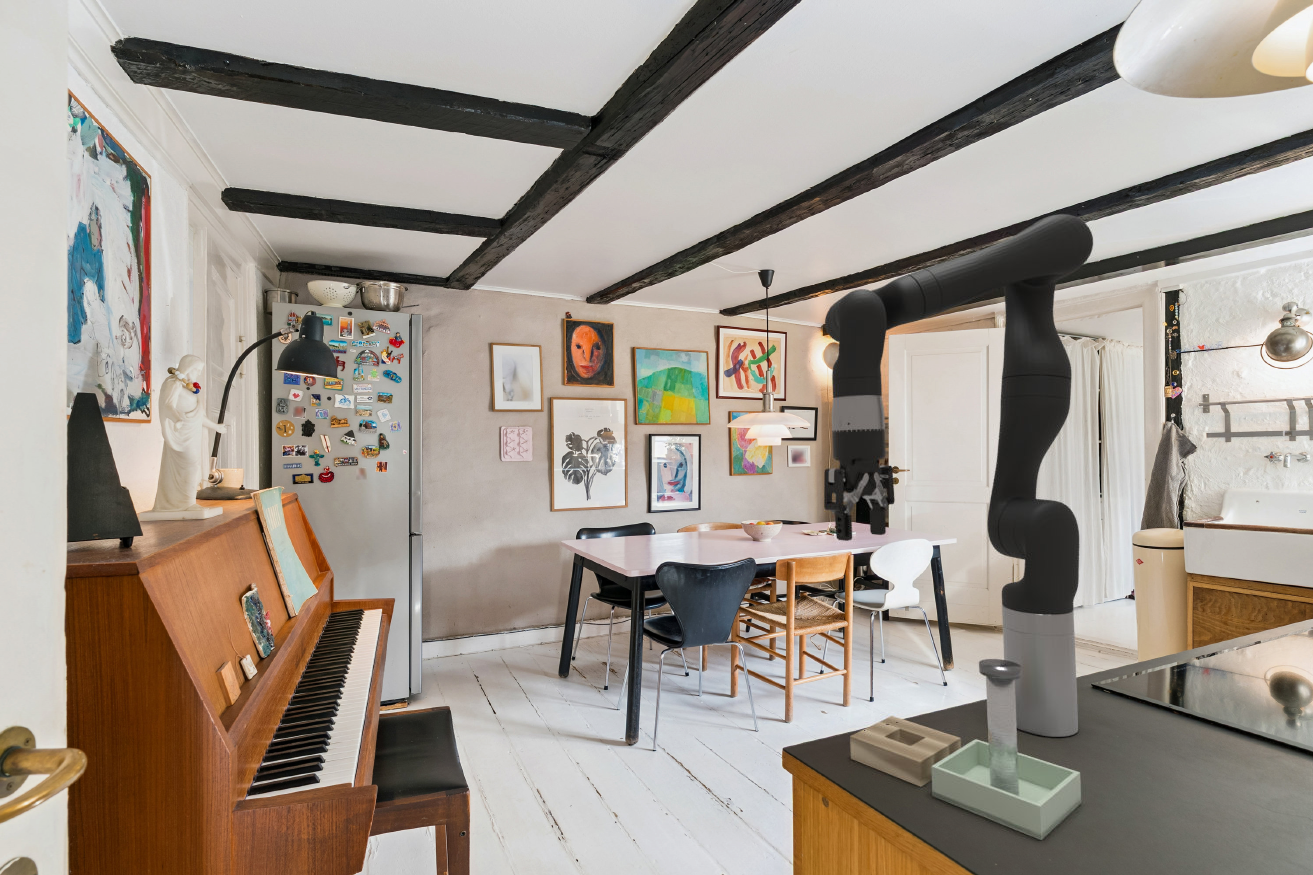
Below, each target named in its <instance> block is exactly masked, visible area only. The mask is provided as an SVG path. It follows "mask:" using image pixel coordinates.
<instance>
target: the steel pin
mask: <svg viewBox="0 0 1313 875" xmlns="http://www.w3.org/2000/svg"><path fill="white" fill-rule="evenodd" d="M978 671H979V673H980V675H982V676H984V677H985V686H986V687H985V690H986V711H987V712H986V713H987V715H986V716H987V735H988V736H987V738H988V739H987V740H988V741H987V743H989V769H990V786H992V787H995V788H998V789H1000V790H1003V791H1006V792H1008V793H1011V794H1014V795H1017V796H1019V776H1018V753H1019V751H1018V731H1017V729H1018V728H1017V726H1016V700H1015V679H1019V678H1021V666H1020V665H1019V664H1017V663H1014V662H1011V661H1007V660H1004V659H1000V658H999V659H998V658H986V659H982V660H979V661H978Z"/></svg>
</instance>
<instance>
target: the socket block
mask: <svg viewBox="0 0 1313 875" xmlns="http://www.w3.org/2000/svg"><path fill="white" fill-rule="evenodd" d="M896 722H898V723H896ZM886 724H889V725H886ZM864 730H865V731H864ZM849 736H850V737H849V739H850V740H849V741H850V742H849V743H850V759H851V760H853V761H855V762H858V763H861V764H862V765H866V766H868V767H870V768H872V769H876V770H878V771H880V772H883V773H886V774H888V775H891V776H893V777H896V778H898V779H901V780H903V781H905V782H908V783H911V784H913V785H915V786H917V787H920V788H921V787H923V786H924V785H926V784H928V783H930V782H932V769H931V766H933V765H934V764H936V763H938V762H939V761H941V760H943V759H944V758H946V757H947V756H949V755H951V754H952V753H954V752H956V751H957V750H959V749H960V748H962V742H961V741H962V738H961V737H958V736H956V735H952V734H949V733H946V732H943V731H940V730H937V729H934V728H931V727H927V726H925V725H921V724H918V723H916V722H912V721H910V720H906V719H903V718H900V717H896V716H893V715H891V716H888V717H887V718H885V719H882V720H881V721H878V722H876V723H874V724H872V725H870V726H868V727H866V728H864V729H861V730H860V731H858V732H856V733H854V734H852V735H849Z"/></svg>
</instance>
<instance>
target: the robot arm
mask: <svg viewBox="0 0 1313 875" xmlns="http://www.w3.org/2000/svg"><path fill="white" fill-rule="evenodd" d="M1093 249H1094V237H1093V234H1092V231H1091V229H1090V227H1089V226H1088V225H1087V223H1086V222H1085V221H1084V220H1082V219H1081V218H1079V217H1077V216H1074V215H1071V214H1064V213H1063V214H1062V213H1061V214H1053V215H1049V216H1047V217H1044V218H1042V219H1040V220H1038V221H1036V222H1034V223H1033V224H1032V225H1030V226H1028V227H1027V228H1026V227H1025V229H1023V230H1021V231H1020V232H1018V233H1017V234H1016V235H1014V236H1011V237H1009V238H1008V239H1005V240H1003V241H1001V242H998V243H996V244H993V245H991V246H988V247H986V248H983V249H980V250H977V251H974V252H972V253H969V254H965V255H963V256H960V257H958V258H957V257H956V258H954V259H951V260H947V261H944V262H941V263H938V264H936V265H932V266H929V267H926V268H923V269H920V270H917V271H914V272H911V273H908V274H905V275H903V276H900V277H897V278H895V279H893V280H892V281H890V282H888V283H887V284H885V285H884V286H880V287H878V288H876V289H872V290H869V289H864V288H863V289H862V288H861V289H859V288H858V289H854V290H852V291H850V292H848V293H847V294H845V295H844V296H842V297H841V298H840V299H839V300H837V301H836V302H835V303H833V304H832V305H831V306H830V307H829V309H828V311H827V312H826V314H825V319H824V327H825V329H826V332H827V334H828V336H829V337H830V338H831V339H832V340H834V341H835V342H837V343H838V354H837V355H838V356H837V358H836V360H835V362H834V364H833V366H832V373H831V376H832V378H831V379H832V381H831V382H832V385H831V386H832V407H831V408H832V409H831V432H832V434H831V435H832V436H831V437H832V438H831V440H832V458H833V459H834V460H835V461H838V462H839V465H838V468H825V469H824V471H823V472H824V476H823V478H824V486H823V488H824V489H823V490H824V491H823V493H824V495H823V496H824V497H823V499H824V500H823V505H824V506H823V507H824V510H826V511H829V512H830V511H831V512H832V513H833V514H834V518H835V519H834V520H835V521H834V524H835V536H836V539H837V540H838V541H846V542H849V541H851V540H852V539H853V521H852V519H853V518H852V516H853V515H852V514H851V513H852V510H853V508H854V507H855V504H856V503H857V502H859V501H860V499H861V498H863V499H865V500H866V502H867V503H868V505H869V508H870V509H869V527H870V528H869V531H870V533H871V534H872V535H877V536H882V535H884V536H885V534H886V532H887V530H886V529H887V528H886V527H887V524H886V510H887V509H888V508H889V506H890V505H894V504H895V502H896V500H895V487H894V486H895V485H894V472H893V471H894V470H893V466H892V465H885V464H884V465H880V463H879V460H884V459H885V458H886V455H887V450H886V448H887V447H886V427H885V426H886V423H885V422H886V421H885V409H884V408H885V407H884V403H883V402H884V401H883V396H882V395H883V390H882V389H883V388H882V385H883V384H882V371H881V368H882V366H881V365H882V359H883V356H884V348H885V342H886V336H887V335H886V334H887V331H889V330H891V329H894V328H895V327H898V326H899V327H900V326H902V325H903V326H904V325H906V324H910V323H914V322H919V321H921V320H923V319H927V318H929V317H932V316H935V315H938V314H942V313H943V312H946V311H948V310H951V309H954V308H956V307H959V306H961V305H963V304H965V303H967V302H970V301H973V300H974V299H976V298H979V297H981V296H983V295H985V294H988V293H990V292H992V291H996V290H998V289H1000V288H1003V289H1004V290H1003V291H1004V305H1005V306H1004V307H1005V326H1004V340H1003V343H1004V345H1003V364H1002V373H1001V374H1002V375H1001V388H1000V389H1001V390H1000V410H999V411H1000V414H999V415H1000V418H999V419H1000V420H999V429H998V430H999V431H998V432H999V433H998V444H997V454H996V465H995V471H994V477H993V483H992V488H991V495H990V498H989V499H990V500H989V506H988V513H987V521H986V522H987V535H988V538H989V541H990V543H991V544H990V545H991V546H992V547H993V548H994V550H995V551H996V552H998V553H999V554H1001V555H1002V556H1006V557H1009V558H1014V559H1018V560H1024V570H1023V576H1022V578H1021V579H1020V580H1018V581H1014V582H1009V583H1006V584H1005V585H1004V586H1003V587H1002V589H1001V612H1002V614H1001V615H1002V616H1001V617H1002V634H1003V639H1002V640H1003V643H1002V644H1003V660H1007V661H1011V662H1014V663H1017V664H1019V665H1020V666H1021V678H1019V679H1015V700H1016V726H1017V729H1018V730H1020V731H1024V732H1026V733H1029V734H1033V735H1039V736H1043V737H1044V736H1045V737H1053V738H1054V737H1055V738H1056V737H1059V738H1060V737H1069V736H1073V735H1075V734H1076V733H1078V732H1079V718H1078V714H1079V713H1078V691H1077V690H1078V688H1077V686H1078V685H1077V666H1076V665H1077V663H1076V662H1077V660H1076V639H1075V637H1076V635H1075V613H1074V600H1075V598H1076V595H1077V592H1078V588H1079V582H1080V580H1079V578H1080V573H1079V572H1080V571H1079V570H1080V530H1079V524H1078V520H1077V518H1076V516H1075V514H1074V512H1073V510H1072V509H1071V508H1070V507H1069V506H1068V505H1067V504H1065V503H1064V502H1061V501H1057V500H1052V499H1041V498H1037V488H1038V487H1037V485H1038V476H1039V472H1040V469H1041V465H1042V462H1043V459H1044V458H1045V456H1046V454H1047V452H1048V450H1049V449H1050V448H1051V447H1052V444H1053V443H1054V441H1055V440H1056V438H1057V436H1058V435H1059V434H1060V431H1061V430H1062V428H1063V426H1064V425H1065V422H1066V421H1067V418H1068V416H1069V412H1070V408H1071V399H1072V398H1071V395H1072V394H1071V393H1072V364H1071V361H1070V358H1069V355H1068V352H1067V350H1066V348H1065V346H1064V343H1063V341H1062V339H1061V337H1060V335H1059V333H1058V330H1057V328H1056V324H1055V318H1054V304H1055V303H1054V302H1055V301H1054V300H1055V292H1056V291H1055V290H1056V286H1057V282H1058V280H1060V279H1062V278H1063V279H1064V278H1065V277H1067V276H1069V275H1071V274H1073V273H1074V272H1076V271H1077V270H1079V269H1080V268H1081V267H1083V265H1084V264H1085V263H1086V262H1087V261H1088V260H1089V258H1090V256H1091V254H1092V251H1093ZM833 494H834V497H835V500H834V501H833ZM885 494H886V496H885Z"/></svg>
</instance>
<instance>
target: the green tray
mask: <svg viewBox="0 0 1313 875" xmlns="http://www.w3.org/2000/svg"><path fill="white" fill-rule="evenodd" d="M931 769H932V780H931V791H932V792H931V793H932V794H931V795H932V797H934V798H936V799H939V800H941V801H944V802H945V803H948V804H951V805H953V806H956V807H958V808H961V809H963V810H966V811H968V812H971V813H973V814H975V815H977V816H981V817H983V818H986V819H987V820H989V821H993V822H995V823H997V824H1000V825H1002V826H1004V827H1008V828H1010V829H1013V830H1015V831H1018V832H1020V833H1022V834H1025V835H1027V836H1030V837H1032V838H1035V839H1037V840H1039V841H1042V840H1043V839H1045V838H1046V837H1047V836H1048V835H1049V834H1050V833H1051V832H1052V831H1054V829H1055V828H1057V827H1058V826H1059V825H1060V824H1061V823H1062V822H1063V821H1064V820H1065V819H1066V818H1067V817H1068V816H1069V815H1070V814H1071V813H1073V811H1075V809H1077V808H1078V807H1079V806H1080V805H1081V804H1082V789H1081V788H1082V786H1081V785H1082V784H1081V783H1082V782H1081V772H1079V771H1077V770H1074V769H1070V768H1067V767H1064V766H1061V765H1058V764H1055V763H1051V762H1048V761H1045V760H1042V759H1039V758H1036V757H1033V756H1029V755H1026V754H1023V753H1021V752H1018V776H1019V796H1017V795H1014V794H1011V793H1008V792H1006V791H1003V790H1000V789H998V788H995V787H992V786H990V769H989V743H988V742H987V741H982V740H979V739H976V738H975V739H974V740H972V741H970V742H968V743H967V744H964V746H961V748H960V749H959V750H957V751H956V752H954V753H952V754H951V755H949V756H947V757H946V758H944V759H943V760H941V761H939V762H938V763H936V764H934V765H933V766H931Z"/></svg>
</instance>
